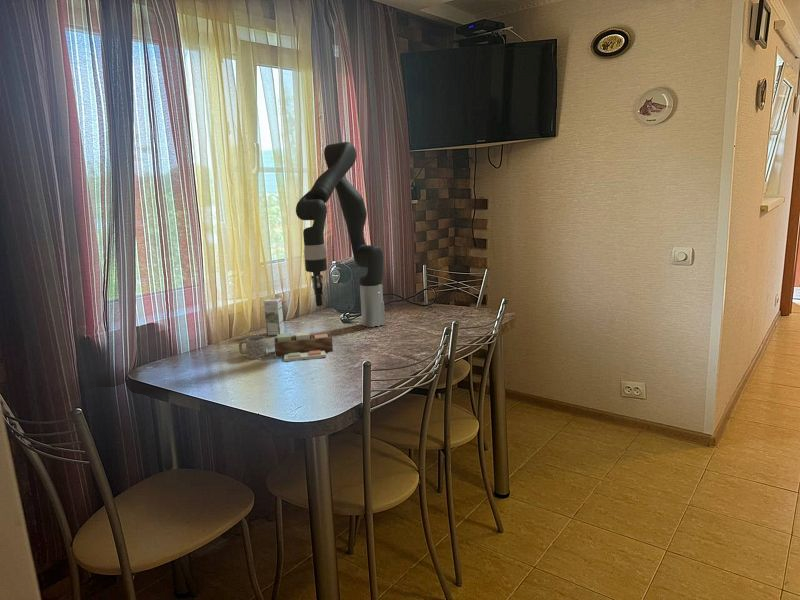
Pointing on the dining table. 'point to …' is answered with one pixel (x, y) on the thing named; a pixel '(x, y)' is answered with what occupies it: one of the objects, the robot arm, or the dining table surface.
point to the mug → (254, 347)
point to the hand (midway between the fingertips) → (319, 305)
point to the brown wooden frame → (303, 345)
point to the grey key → (302, 335)
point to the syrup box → (273, 316)
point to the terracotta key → (321, 336)
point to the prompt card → (304, 355)
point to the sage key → (284, 337)
